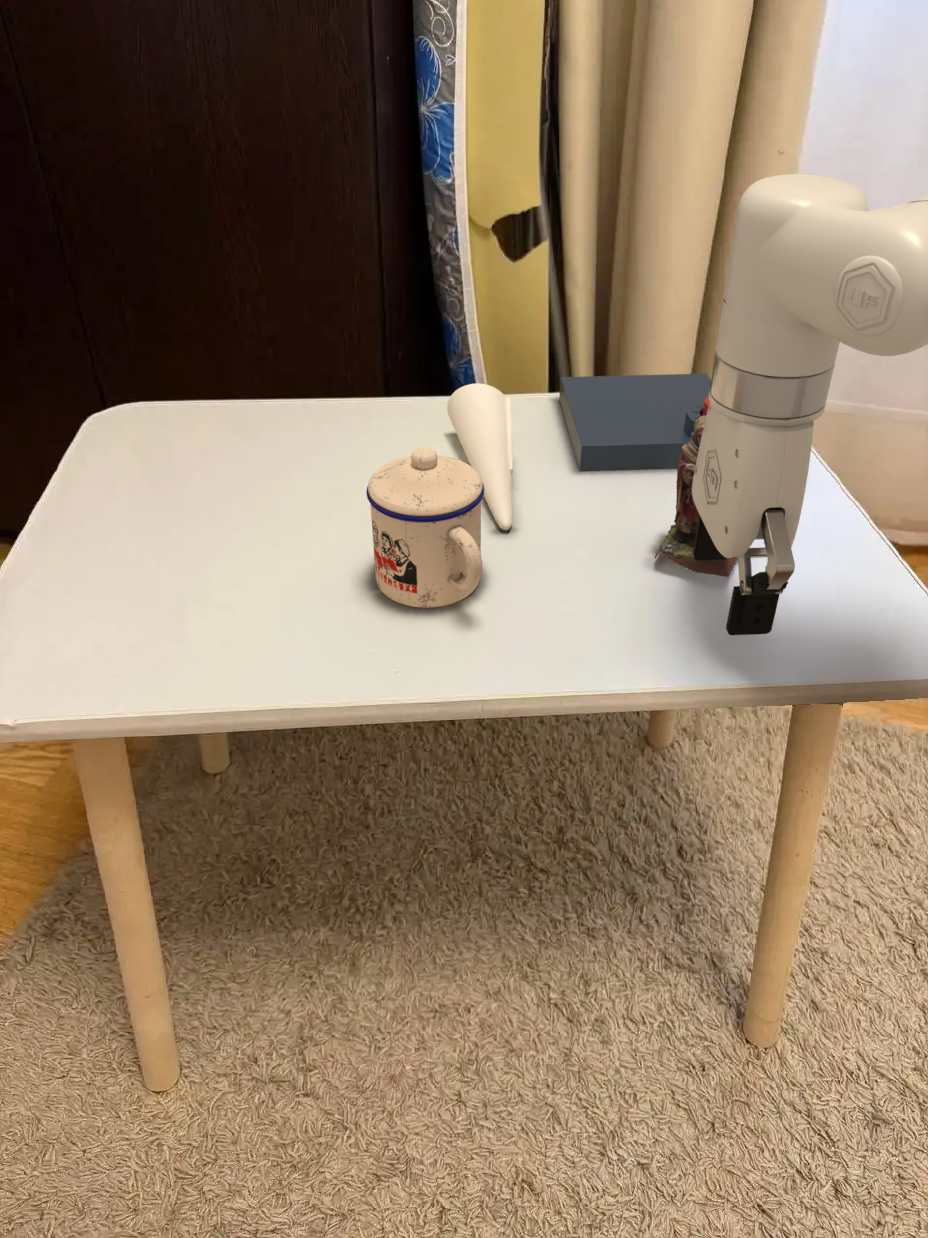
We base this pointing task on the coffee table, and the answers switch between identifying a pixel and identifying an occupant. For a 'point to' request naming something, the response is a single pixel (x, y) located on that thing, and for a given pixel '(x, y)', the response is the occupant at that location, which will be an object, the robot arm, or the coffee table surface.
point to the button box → (632, 418)
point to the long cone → (487, 442)
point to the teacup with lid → (426, 529)
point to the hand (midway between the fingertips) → (729, 593)
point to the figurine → (689, 516)
